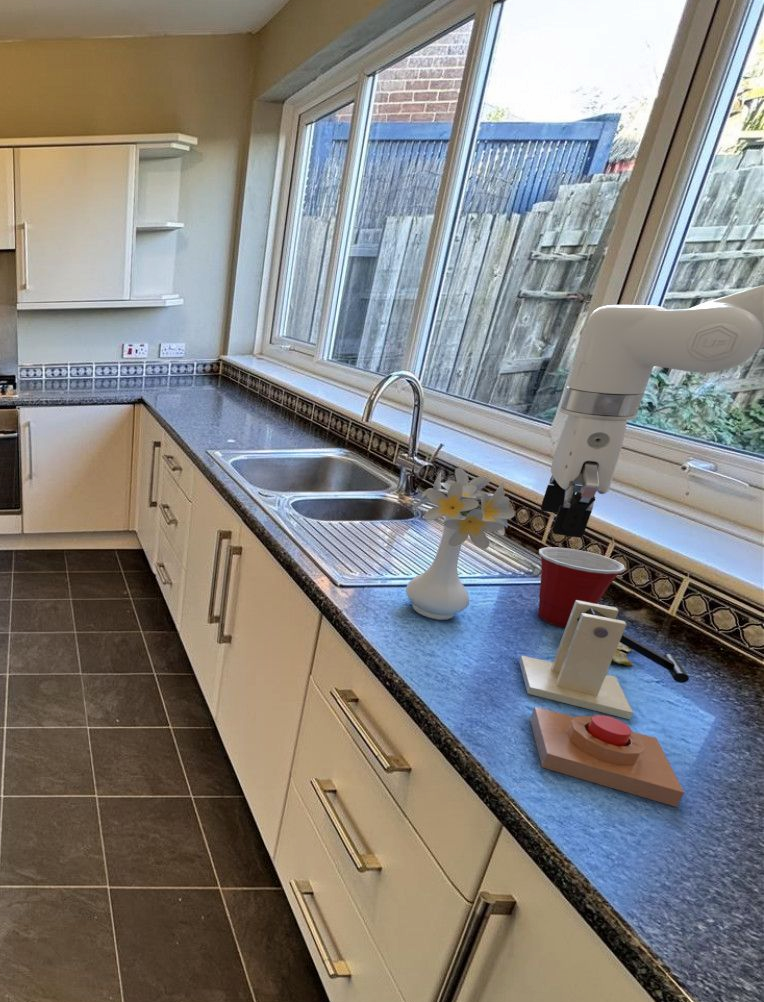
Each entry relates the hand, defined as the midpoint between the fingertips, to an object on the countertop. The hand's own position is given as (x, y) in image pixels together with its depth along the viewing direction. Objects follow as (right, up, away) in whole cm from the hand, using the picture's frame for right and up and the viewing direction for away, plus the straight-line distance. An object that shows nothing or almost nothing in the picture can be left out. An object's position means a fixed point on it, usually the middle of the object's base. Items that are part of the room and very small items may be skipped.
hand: (559, 523), depth 88 cm
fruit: (+15, -21, +10) cm, 27 cm away
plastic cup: (+16, -17, +19) cm, 30 cm away
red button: (-6, -26, -13) cm, 29 cm away
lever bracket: (+3, -24, +1) cm, 24 cm away
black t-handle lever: (+6, -17, -3) cm, 19 cm away
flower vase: (-3, -17, +21) cm, 27 cm away
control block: (-6, -29, -11) cm, 32 cm away
